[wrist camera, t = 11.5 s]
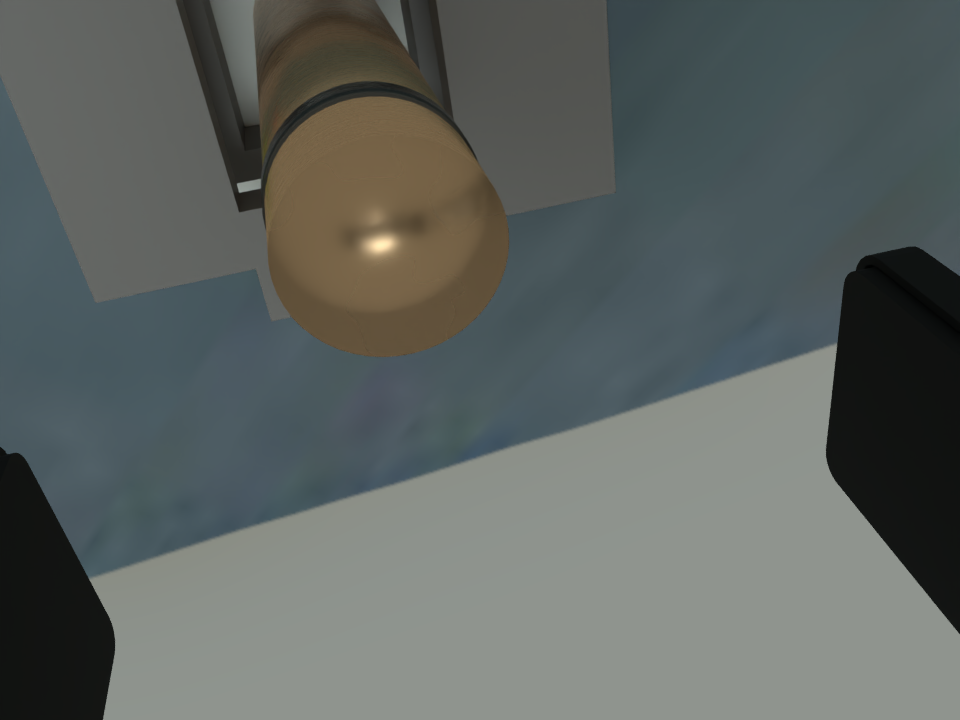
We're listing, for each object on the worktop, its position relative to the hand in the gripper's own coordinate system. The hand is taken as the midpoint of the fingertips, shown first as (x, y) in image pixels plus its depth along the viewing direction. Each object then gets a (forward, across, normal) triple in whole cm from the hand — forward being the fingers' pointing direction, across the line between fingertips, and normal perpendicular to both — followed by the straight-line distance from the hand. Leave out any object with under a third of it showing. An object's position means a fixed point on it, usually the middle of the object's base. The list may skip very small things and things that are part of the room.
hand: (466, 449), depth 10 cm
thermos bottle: (+24, +1, 0) cm, 24 cm away
